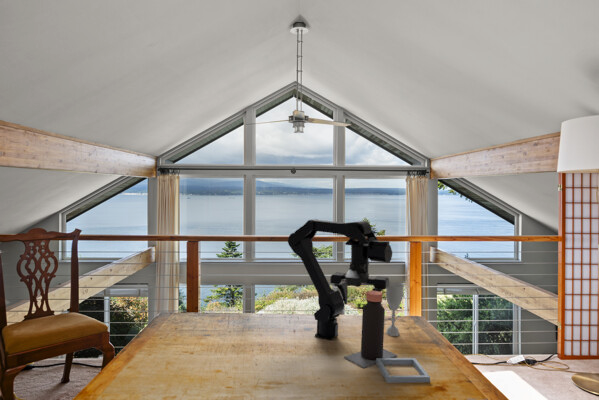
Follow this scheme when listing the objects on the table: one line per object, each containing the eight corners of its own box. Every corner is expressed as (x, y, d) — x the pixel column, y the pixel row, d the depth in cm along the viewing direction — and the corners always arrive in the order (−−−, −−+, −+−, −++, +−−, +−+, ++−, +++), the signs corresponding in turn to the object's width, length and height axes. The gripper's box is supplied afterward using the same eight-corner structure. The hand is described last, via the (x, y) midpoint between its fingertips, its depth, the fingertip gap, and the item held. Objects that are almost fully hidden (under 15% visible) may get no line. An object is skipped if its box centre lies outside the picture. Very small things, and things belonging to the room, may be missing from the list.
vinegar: (366, 349, 136) (369, 288, 135) (386, 355, 132) (389, 292, 131) (356, 356, 131) (359, 292, 129) (376, 362, 127) (379, 297, 125)
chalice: (402, 338, 148) (405, 287, 147) (382, 336, 149) (385, 285, 148) (401, 330, 155) (404, 282, 154) (383, 328, 156) (385, 280, 155)
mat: (344, 357, 130) (344, 356, 130) (377, 347, 139) (377, 345, 139) (363, 368, 124) (363, 367, 124) (397, 356, 133) (397, 355, 133)
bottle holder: (387, 382, 116) (387, 377, 115) (375, 363, 127) (376, 358, 127) (429, 382, 116) (430, 377, 116) (414, 362, 128) (414, 358, 128)
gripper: (324, 261, 136) (324, 308, 137) (381, 266, 128) (381, 316, 129) (336, 255, 146) (335, 300, 147) (390, 260, 138) (389, 307, 139)
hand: (359, 306), depth 140 cm, fingers open, 9 cm apart
